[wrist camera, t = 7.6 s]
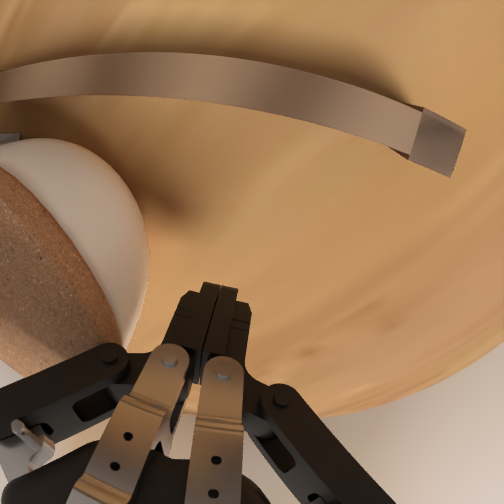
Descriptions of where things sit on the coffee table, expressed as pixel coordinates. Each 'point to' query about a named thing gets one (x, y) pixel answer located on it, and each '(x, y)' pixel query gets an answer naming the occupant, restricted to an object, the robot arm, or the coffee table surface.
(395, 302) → the coffee table surface
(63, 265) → the lidded bowl
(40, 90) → the brown curved bar
